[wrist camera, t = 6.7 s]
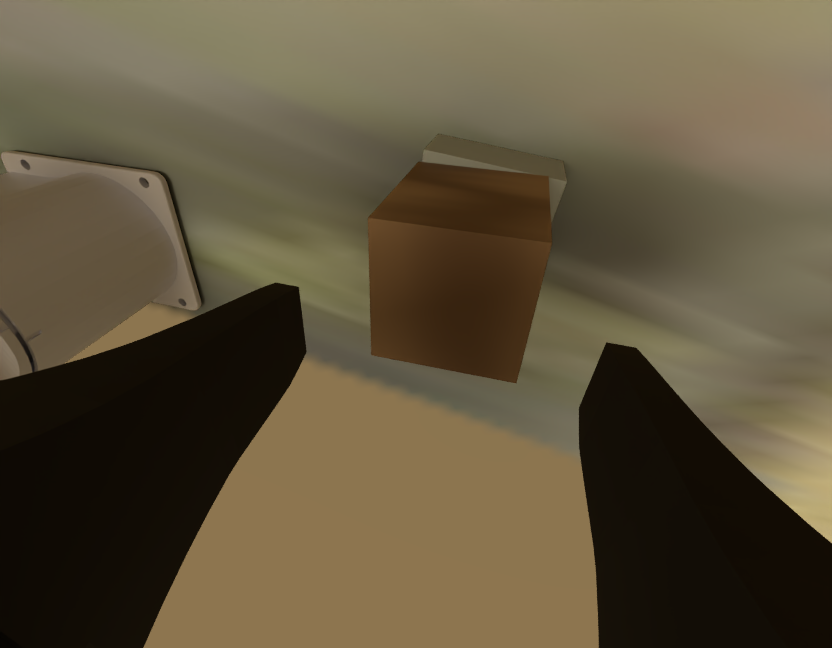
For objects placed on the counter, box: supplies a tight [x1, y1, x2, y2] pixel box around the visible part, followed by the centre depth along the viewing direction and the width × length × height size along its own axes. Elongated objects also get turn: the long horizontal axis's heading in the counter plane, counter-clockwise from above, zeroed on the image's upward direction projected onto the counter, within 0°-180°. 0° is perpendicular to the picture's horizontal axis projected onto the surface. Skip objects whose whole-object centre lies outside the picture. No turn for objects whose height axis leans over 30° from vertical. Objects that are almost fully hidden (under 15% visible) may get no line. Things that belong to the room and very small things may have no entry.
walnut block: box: [368, 162, 552, 383], centre depth 14 cm, size 4×4×6 cm
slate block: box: [422, 134, 567, 223], centre depth 17 cm, size 5×5×3 cm
